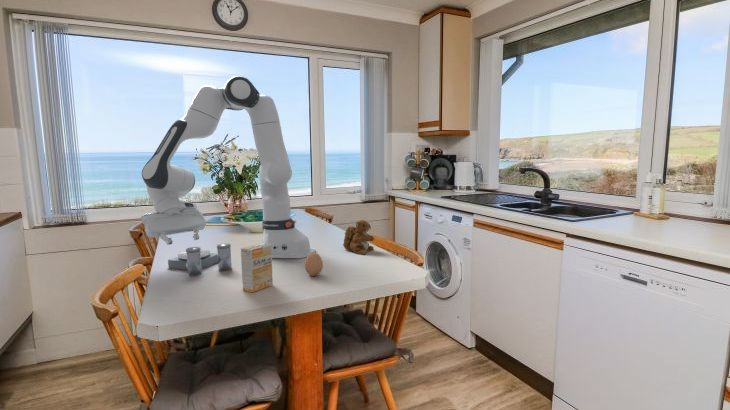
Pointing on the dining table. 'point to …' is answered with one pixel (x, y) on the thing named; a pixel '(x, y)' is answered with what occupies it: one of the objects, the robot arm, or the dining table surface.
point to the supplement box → (256, 267)
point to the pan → (184, 255)
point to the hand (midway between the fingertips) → (183, 241)
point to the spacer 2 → (224, 257)
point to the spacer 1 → (194, 261)
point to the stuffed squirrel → (358, 238)
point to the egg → (313, 264)
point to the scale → (182, 264)
